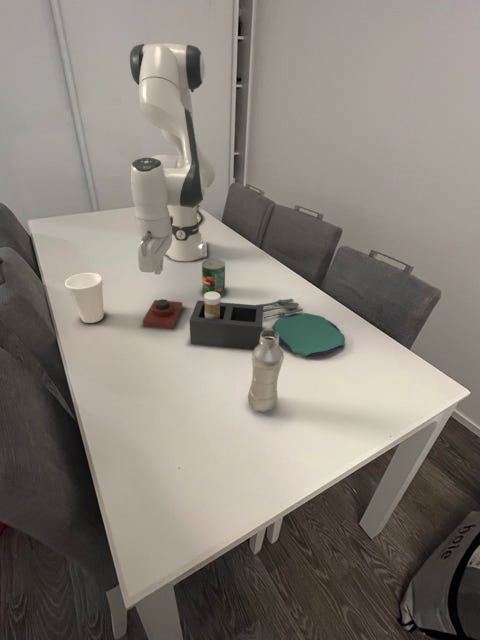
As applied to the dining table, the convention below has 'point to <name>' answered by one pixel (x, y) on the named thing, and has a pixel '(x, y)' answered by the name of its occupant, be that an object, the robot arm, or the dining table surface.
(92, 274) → the cup
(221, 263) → the canned tomato
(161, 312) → the button block
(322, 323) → the cutlery set
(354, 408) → the dining table surface
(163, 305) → the button
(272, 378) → the plastic bottle
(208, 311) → the sprinkles bottle
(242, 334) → the dark grey hollow block
